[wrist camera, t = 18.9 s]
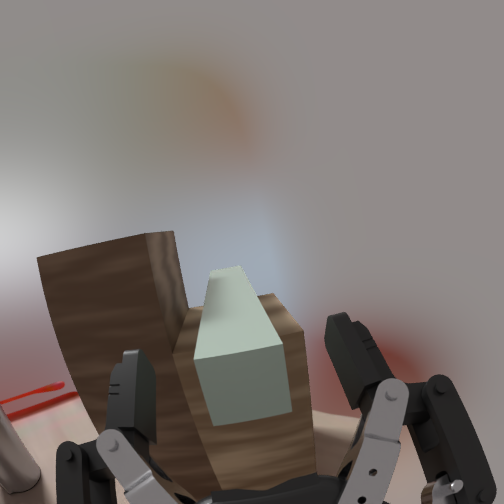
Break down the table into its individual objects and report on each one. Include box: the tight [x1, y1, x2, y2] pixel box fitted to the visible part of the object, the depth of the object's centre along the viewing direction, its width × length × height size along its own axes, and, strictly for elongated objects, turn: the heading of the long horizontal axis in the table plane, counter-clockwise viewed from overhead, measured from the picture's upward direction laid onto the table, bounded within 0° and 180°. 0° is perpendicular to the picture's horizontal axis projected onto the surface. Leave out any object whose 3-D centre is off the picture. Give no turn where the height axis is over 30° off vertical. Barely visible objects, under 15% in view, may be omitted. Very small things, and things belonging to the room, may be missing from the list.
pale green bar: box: [194, 266, 292, 426], centre depth 25 cm, size 26×4×4 cm, turn 6°
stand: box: [37, 231, 316, 501], centre depth 30 cm, size 14×22×32 cm, turn 96°
